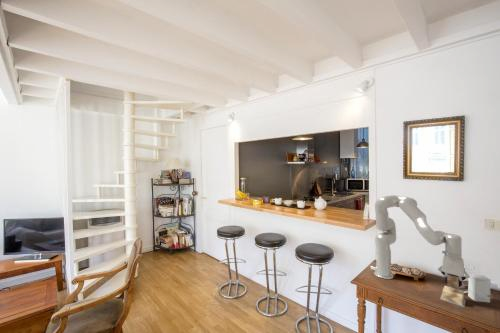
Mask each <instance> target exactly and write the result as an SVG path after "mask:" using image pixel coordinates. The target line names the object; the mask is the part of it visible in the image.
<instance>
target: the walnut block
mask: <svg viewBox="0 0 500 333" xmlns="http://www.w3.org/2000/svg"><path fill="white" fill-rule="evenodd" d="M446 286H447V287H451V288H454V289H458V290H460V288H459V277H458V276H456V275H452V274H447V284H446Z"/></svg>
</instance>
